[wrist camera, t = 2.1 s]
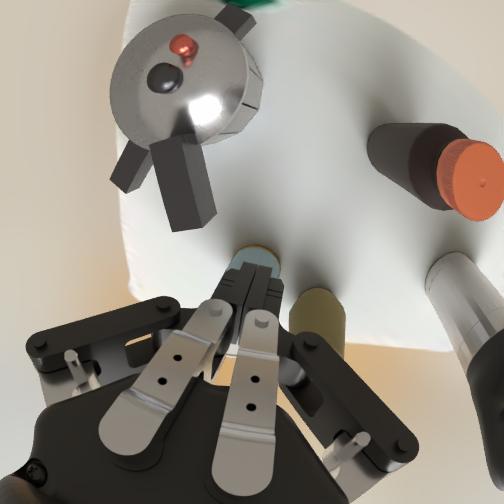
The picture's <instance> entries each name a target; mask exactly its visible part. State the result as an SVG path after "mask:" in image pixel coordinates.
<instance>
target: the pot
mask: <svg viewBox="0 0 504 504" xmlns="http://www.w3.org/2000/svg"><path fill="white" fill-rule="evenodd" d="M214 20H216V21H219V22H220V23H222V24H223V25H224V26H226V27H227V28H228V29H229V30H230V31H231V32H232V33H233V34H234V35H235V36H236V38H237V39H238V40H239V42H240V40H241V39H242V38H243V37H244V36H245V35H246V34H247V33H248V32H249V31H250V30H251V29H252V28H253V27H254V25H255V24H256V21H255V19H254V18H253V16H252V15H251V14H249V13H247V12H245V11H243V10H241V9H239V8H237V7H235V6H233V5H231V4H228V5H227V6H226V7H225V8H224V9H223V10H222V11H221V12H220V13H219V14H218V15H217V16H216V17H215V18H214ZM241 45H242V44H241ZM242 47H243V46H242ZM243 49H244V51H245V54H246V57H247V60H248V67H249V80H248V88H247V91H246V95H245V98H244V100H243V103H242V105H241V107H240V109H239V110H238V112H237V114H236V116H235V117H234V118H233V119H232V121H231V122H230V123H229V124H228V125H227V127H226V128H225V129H224V130H223V131H222V132H220V133H219V134H218V135H217V136H215V137H214V138H212V139H211V140H209V141H208V142H206V143H204V144H202V145H201V146H203V145H208V144H213V143H216V142H219V141H221V140H223V139H226V138H228V137H231V136H233V135H236V134H238V133H239V132H241V131H242V130H243V129H244V127H245V126H246V125H247V124H248V122H249V121H250V120H251V119H252V118H253V116H254V115H255V114H256V113H257V112H258V110H257V109H259V106H260V100H261V94H262V88H263V82H262V81H263V79H262V77H261V75H260V73H259V71H258V68H257V66H256V64H255V62H254V60H253V58H252V56H251V55H250V54H249V53H248V52H247V50H246V49H245V48H244V47H243ZM255 108H256V109H255ZM152 165H153V160H152V156H151V152H150V150H147V149H144V148H142V147H140V146H138V145H136V144H135V143H133V142H132V141H131V140H129V141H128V143H127V145H126V147H125V149H124V151H123V153H122V155H121V157H120V159H119V161H118V163H117V165H116V167H115V169H114V171H113V173H112V175H111V177H110V180H111V181H112V182H113V183H114V184H115V185H116V186H117V187H119V188H120V189H121V190H122V191H123V192H124V193H125V194H127V193H129V192H131V191H133V190H136V189H138V188H140V186H141V184H142V182H143V180H144V179H145V177H146V175H147V173H148V172H149V170H150V168H151V166H152Z"/></svg>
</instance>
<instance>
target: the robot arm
mask: <svg viewBox="0 0 504 504" xmlns="http://www.w3.org/2000/svg"><path fill="white" fill-rule="evenodd" d="M272 269H273V267H268V266H264V265H259V266H258V264H254V263H250V262H246V261H244V262H243V264H242V266H241V268H240V270H237V269H233V268H231V269H229V270H228V271H226V272H225V273H224V275H223V276H222V279H221V280H220V282H219V284H218V286H217V287H216V289H215V291H214V293H213V295H212V297H211V298H210V299H209V300H206V301H204V302H202V303H201V304H200V306H199V307H198V308H192V309H190V308H180V304H179V302H178V301H177V300H176V299H174V298H172V297H168V296H160V297H156V298H153V299H149V300H146V301H143V302H139V303H136V304H133V305H129V306H126V307H123V308H119V309H116V310H113V311H109V312H106V313H103V314H99V315H96V316H93V317H89V318H86V319H83V320H79V321H75V322H72V323H68V324H65V325H62V326H58V327H55V328H51V329H47V330H44V331H40V332H37V333H35V334H33V335H32V336H31V337H30V338H29V339H28V340H27V343H26V351H27V353H28V355H29V356H30V358H31V360H32V362H33V365H34V367H35V369H36V371H37V372H38V374H39V377H40V382H41V386H42V390H43V394H44V398H45V402H46V406H47V408H45V409H44V410H43V411H42V412H41V414H40V415H39V417H38V419H37V421H36V424H35V429H34V441H33V447H32V452H31V455H30V458H29V460H28V461H27V463H26V464H25V465H24V466H23V467H21V468H20V469H18V470H17V471H15V472H14V473H12V474H10V475H8V476H6V477H4V478H3V479H1V480H0V504H350V503H351V502H353V501H354V500H356V499H357V498H358V497H360V496H361V495H362V494H364V493H365V492H366V491H368V490H369V489H370V488H371V487H373V486H374V485H375V484H376V483H378V482H379V481H380V480H382V479H383V478H385V477H387V476H388V475H390V474H392V473H394V472H395V471H397V470H398V469H400V468H402V467H403V466H405V465H406V464H408V463H409V462H411V461H412V460H414V459H415V457H416V456H417V454H418V451H419V443H418V440H417V438H416V437H415V435H414V434H413V433H412V432H411V431H410V430H409V429H408V428H407V427H406V426H405V425H404V424H403V423H402V421H401V420H400V419H399V418H398V417H397V416H396V415H395V414H394V413H393V412H392V411H391V410H390V409H389V408H388V407H387V406H386V405H385V403H384V402H383V401H382V400H381V399H380V398H379V397H378V396H377V395H376V394H375V393H374V392H373V391H372V390H371V389H370V387H369V386H368V385H367V384H366V383H365V382H364V381H363V380H362V379H361V378H360V377H359V376H358V375H357V374H356V373H355V371H354V370H353V369H352V368H351V367H350V366H349V365H348V364H347V363H346V362H345V361H344V360H343V359H342V358H341V356H340V355H339V354H338V353H337V352H336V351H335V350H334V349H333V348H332V347H331V346H330V345H329V344H328V342H327V341H326V340H325V339H324V338H323V337H322V336H320V335H318V334H316V333H314V332H309V331H305V332H300V333H298V334H297V335H294V334H292V333H290V332H288V331H286V330H285V329H284V328H283V327H282V326H281V325H280V323H279V313H280V307H281V301H282V296H283V290H284V285H283V283H282V280H281V279H277V278H273V277H271V274H272ZM425 290H426V293H427V296H428V297H429V299H430V301H431V303H432V305H433V307H434V309H435V311H436V313H437V315H438V317H439V319H440V320H441V322H442V324H443V326H444V328H445V330H446V333H447V335H448V337H449V339H450V341H451V343H452V345H453V347H454V350H455V352H456V354H457V356H458V358H459V361H460V363H461V365H462V368H463V370H464V373H465V375H466V378H467V380H468V383H469V385H470V390H471V395H472V399H473V402H474V405H475V409H476V412H477V416H478V420H479V424H480V429H481V434H482V439H483V445H484V450H485V456H486V462H487V466H488V470H489V474H490V477H491V479H492V481H493V483H494V484H495V486H496V487H497V488H498V489H500V490H502V491H504V298H503V297H502V295H501V294H500V293H499V292H498V290H497V289H496V288H495V287H494V286H493V285H492V283H491V282H490V281H489V280H488V279H487V278H486V276H485V275H484V274H483V273H482V272H481V271H480V270H479V268H478V267H477V266H476V265H475V264H474V263H473V262H472V261H471V260H470V259H469V258H468V257H467V256H466V255H465V254H463V253H460V252H453V253H449V254H447V255H444V256H443V257H442V258H440V259H439V260H438V261H437V262H436V263H435V264H434V265H433V266H432V268H431V269H430V271H429V273H428V275H427V278H426V283H425ZM148 334H151V337H150V338H147V339H145V340H142V341H139V342H136V343H133V344H130V345H127V346H125V345H126V343H127V342H129V341H131V340H133V339H136V338H139V337H142V336H145V335H148ZM238 338H239V339H238ZM237 341H238V345H239V349H238V352H237V356H236V361H235V366H234V370H233V375H232V380H231V384H230V386H217V385H213V383H214V381H215V379H216V377H217V375H218V372H219V370H220V368H221V366H222V364H223V362H224V360H225V358H226V355H227V351H228V349H229V347H230V344H235V345H236V343H237ZM278 384H279V387H280V389H281V390H282V392H283V393H284V394H285V396H286V397H287V399H288V400H289V401H290V403H291V404H292V406H293V407H294V408H295V410H296V411H297V412H298V414H299V415H300V417H301V418H302V419H303V421H304V422H305V423H306V425H307V426H308V427H309V429H310V430H311V431H312V433H313V434H314V435H315V436H316V437H317V439H318V440H319V442H320V443H321V444H322V445H323V446H324V448H325V449H326V450H325V451H324V453H323V458H322V459H323V463H322V461H321V460H320V459H319V457H318V456H317V455H316V453H315V451H314V450H313V449H312V447H311V446H310V444H309V443H308V441H307V440H306V438H305V437H304V435H303V434H302V433H301V431H300V430H299V428H298V427H297V425H296V424H295V422H294V421H293V419H292V418H291V417H290V416H289V414H288V413H287V412H286V411H284V410H283V409H282V408H281V407H279V406H278V405H276V403H277V388H278Z"/></svg>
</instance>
